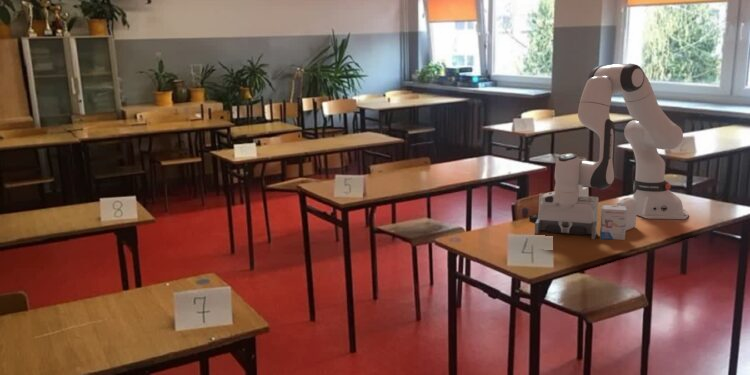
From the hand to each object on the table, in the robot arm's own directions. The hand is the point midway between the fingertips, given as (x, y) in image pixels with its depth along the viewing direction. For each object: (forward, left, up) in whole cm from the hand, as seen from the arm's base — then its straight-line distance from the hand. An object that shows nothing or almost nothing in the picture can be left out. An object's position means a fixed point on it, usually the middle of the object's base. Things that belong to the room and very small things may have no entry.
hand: (565, 232), depth 241 cm
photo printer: (-21, -16, -2) cm, 26 cm away
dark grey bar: (0, -4, 0) cm, 4 cm away
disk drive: (+8, -17, -2) cm, 18 cm away
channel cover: (0, -8, +8) cm, 11 cm away
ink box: (-17, -3, -2) cm, 17 cm away
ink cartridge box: (-1, -33, -2) cm, 33 cm away
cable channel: (0, -3, -1) cm, 3 cm away
